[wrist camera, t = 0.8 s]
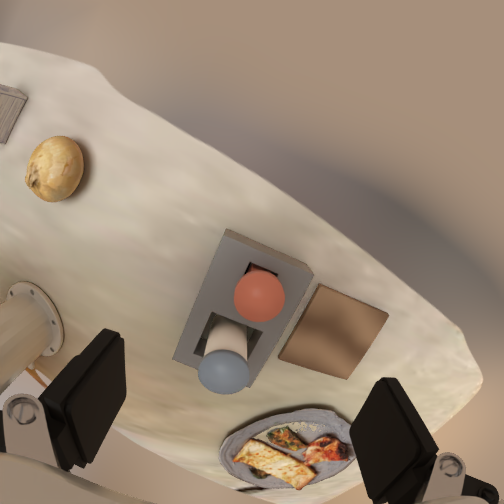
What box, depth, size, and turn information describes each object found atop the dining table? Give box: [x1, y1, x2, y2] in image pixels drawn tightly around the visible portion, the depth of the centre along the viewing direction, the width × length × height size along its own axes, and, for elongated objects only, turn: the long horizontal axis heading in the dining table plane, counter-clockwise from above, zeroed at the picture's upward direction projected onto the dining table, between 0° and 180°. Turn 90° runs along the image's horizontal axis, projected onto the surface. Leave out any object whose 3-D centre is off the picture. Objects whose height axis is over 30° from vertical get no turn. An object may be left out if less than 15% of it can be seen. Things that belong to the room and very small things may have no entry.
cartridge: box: [198, 314, 249, 394], centre depth 30 cm, size 5×5×10 cm
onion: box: [25, 136, 84, 202], centre depth 26 cm, size 8×8×7 cm
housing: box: [172, 229, 314, 388], centre depth 32 cm, size 16×10×4 cm, turn 156°
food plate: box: [219, 408, 356, 490], centre depth 40 cm, size 25×23×4 cm
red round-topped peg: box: [234, 263, 285, 322], centre depth 28 cm, size 4×4×7 cm
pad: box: [278, 284, 389, 380], centre depth 35 cm, size 11×11×1 cm
